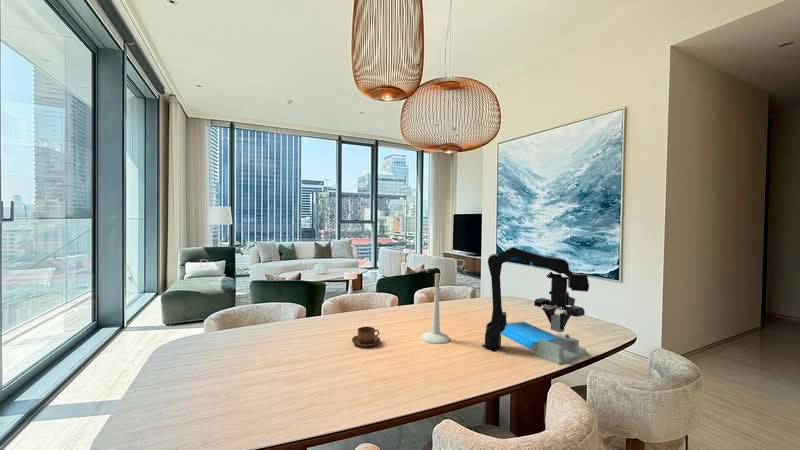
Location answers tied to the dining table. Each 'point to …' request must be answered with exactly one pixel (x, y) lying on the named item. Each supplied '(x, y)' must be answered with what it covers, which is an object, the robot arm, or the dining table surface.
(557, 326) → the block
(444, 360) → the dining table surface
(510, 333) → the book
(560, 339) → the jaw
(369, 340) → the cup and saucer
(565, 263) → the robot arm
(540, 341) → the vise
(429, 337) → the candlestick
